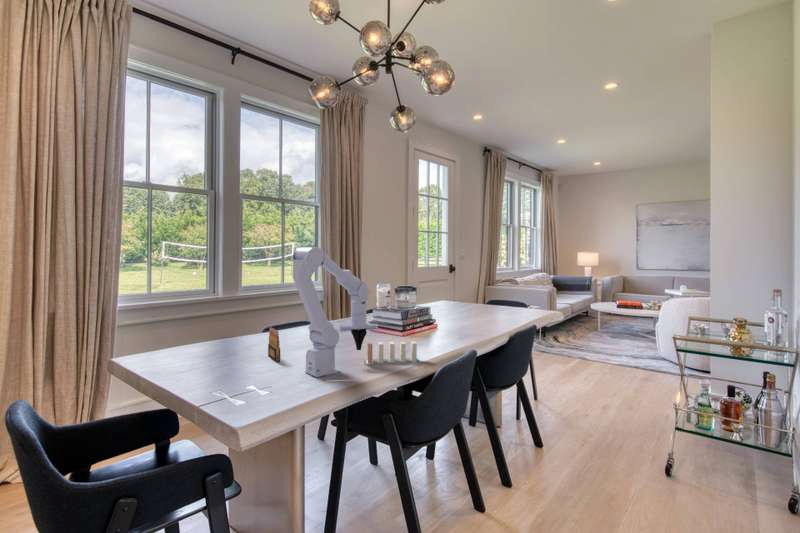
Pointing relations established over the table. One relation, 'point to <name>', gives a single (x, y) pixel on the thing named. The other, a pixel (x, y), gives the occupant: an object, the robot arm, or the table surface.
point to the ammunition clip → (274, 345)
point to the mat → (386, 361)
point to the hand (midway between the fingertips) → (358, 349)
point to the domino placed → (369, 352)
